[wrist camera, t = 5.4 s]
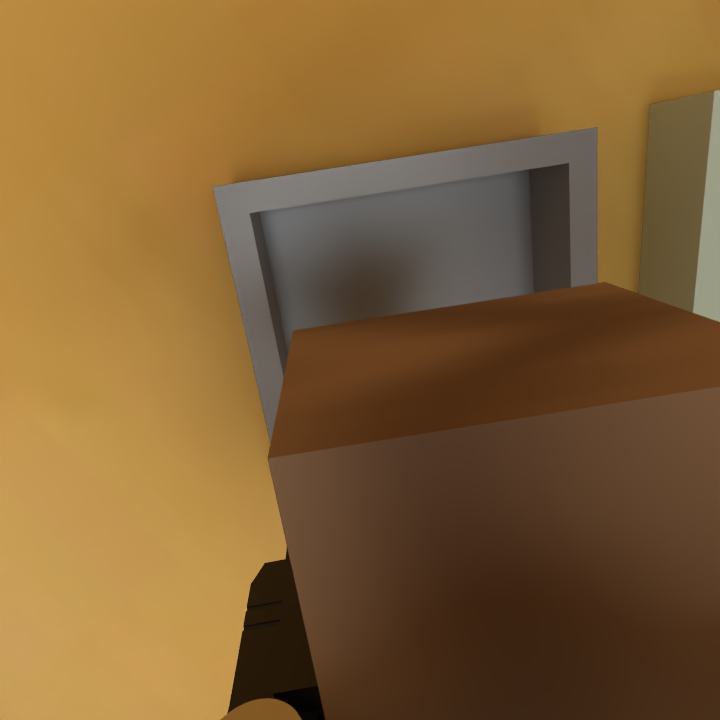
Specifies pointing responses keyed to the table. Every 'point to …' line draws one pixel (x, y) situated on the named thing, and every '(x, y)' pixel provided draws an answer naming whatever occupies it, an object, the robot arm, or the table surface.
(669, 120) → the sage carton
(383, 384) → the walnut block
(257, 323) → the tray
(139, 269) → the table surface
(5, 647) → the table surface
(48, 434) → the table surface
